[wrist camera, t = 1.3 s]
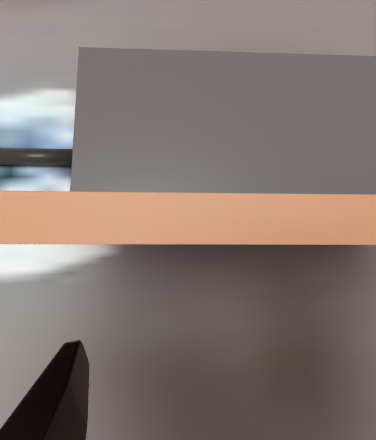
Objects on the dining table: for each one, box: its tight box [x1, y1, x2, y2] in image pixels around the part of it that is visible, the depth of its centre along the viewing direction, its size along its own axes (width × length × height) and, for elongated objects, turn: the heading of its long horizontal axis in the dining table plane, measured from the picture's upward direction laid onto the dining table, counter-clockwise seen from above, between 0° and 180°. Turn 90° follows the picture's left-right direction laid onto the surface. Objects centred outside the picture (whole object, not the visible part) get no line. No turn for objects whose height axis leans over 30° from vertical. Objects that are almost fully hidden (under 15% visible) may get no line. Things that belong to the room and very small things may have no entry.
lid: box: [0, 191, 376, 245], centre depth 14 cm, size 11×20×1 cm
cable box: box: [0, 47, 376, 195], centre depth 23 cm, size 10×29×6 cm, turn 90°
